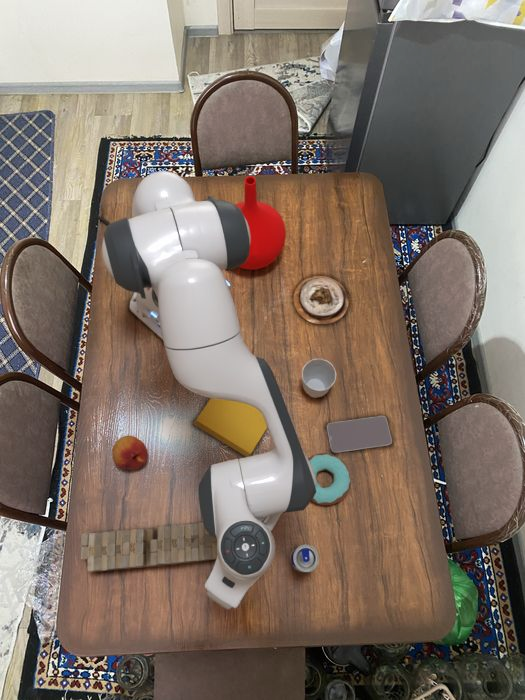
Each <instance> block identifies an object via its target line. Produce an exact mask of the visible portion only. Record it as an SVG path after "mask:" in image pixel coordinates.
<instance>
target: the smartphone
mask: <svg viewBox="0 0 525 700" xmlns="http://www.w3.org/2000/svg"><path fill="white" fill-rule="evenodd" d="M326 432H327V438H328V442H329V447H330V451H331V452H332V453H333V454H339V453H346V452H353V451H359V450H367V449H374V448H381V447H388V446H390V445H391V444H392V442H393V439H392V435H391V431H390V428H389V423H388V420H387V417H386V416H384V415H378V416H371V417H370V416H369V417H363V418H362V417H361V418H356V419H349V420H342V421H335V422H329V423H328V424H327V425H326Z"/></svg>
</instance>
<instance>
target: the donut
mask: <svg viewBox="0 0 525 700" xmlns="http://www.w3.org/2000/svg"><path fill="white" fill-rule="evenodd" d="M307 458H308V460H309V461H310V463H311V466H312V468H313V471H314V474H315V478H316V494H315V495H314V497H313V499H312V500H311V502H313V503H314V504H317V505H320V506H332V505H333V506H334V505H335V504H338V503H339V502H341V501H342V500H343V499H344V498H345V497H347V495H348V493H349V490H350V487H351V481H352V480H351V474H350V471H349V469H348V466H347V465H346V463H345V462H344V461H343V460H342V459H341V458H340V457H338V456H336V455H334V454H331V453H327V452H322V453H316V454H313V455H311V456H310V457H307ZM322 471H327V472H329V473H330V474H331V475H332V479H333V480H332V483H331V484H330V485H329V486H326V487H324V486H321V485H320V484H319V482H318V481H317V480H318V479H317V477H318V474H319V473H320V472H322Z"/></svg>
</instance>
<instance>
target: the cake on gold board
mask: <svg viewBox="0 0 525 700" xmlns="http://www.w3.org/2000/svg"><path fill="white" fill-rule="evenodd" d="M293 306H294V308H295V310H296V312H297V313H298V314H299V315H300V316H301V317H302V318H303V319H304V320H305V321H308V322H309V323H311V324H314V325H315V324H316V325H329V324H332V323H335V322H337V321H338V320H340V319H341V318H342V317H343V316H344V315H345V314H346V312H347V310H348V307H349V295H348V293H347V290H346V289H345V287H344V286H343V284H341V283H340V282H339V281H337V280H336V279H334V278H332V277H330V276H326V275H313V276H310V277H307V278H305V279H304V280H302V281H301V282H300V283H299V284H298V285H297V286H296V287H295V290H294V292H293Z"/></svg>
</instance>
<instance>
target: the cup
mask: <svg viewBox="0 0 525 700" xmlns="http://www.w3.org/2000/svg"><path fill="white" fill-rule="evenodd" d="M336 380H337V371H336V368H335V366H334V365H333V364H332V363H331V362H330V361H328V360H327V359H324V358H313V359H311V360H308V361H307V362H306V363H305V365H304V366H303V367H302V370H301V385H302V388H303V390H304V392H305V393H306V394H307V395H308V396H309V397H311V398H322V397H324V396H325V395H326V394H327V393H328V392H330V390H331V389H332V388H333V386H334V385H335V382H336Z"/></svg>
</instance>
